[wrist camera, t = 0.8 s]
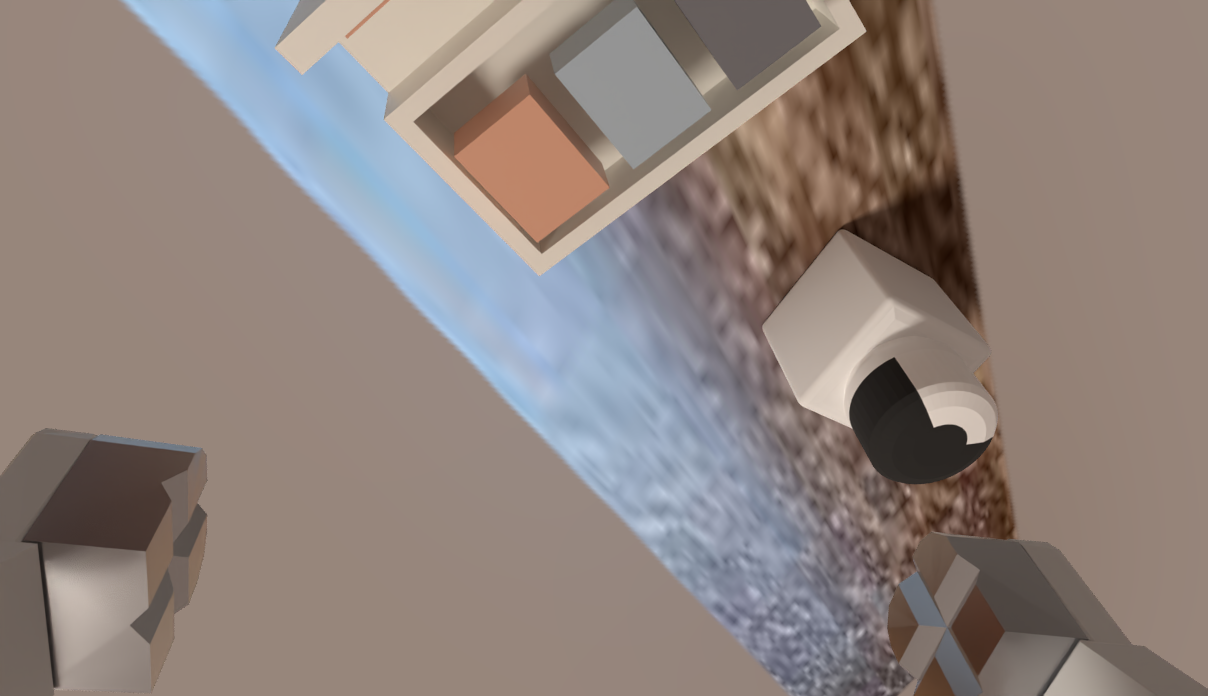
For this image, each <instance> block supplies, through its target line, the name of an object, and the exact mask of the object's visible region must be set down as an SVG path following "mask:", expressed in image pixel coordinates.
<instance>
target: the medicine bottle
mask: <svg viewBox="0 0 1208 696" xmlns="http://www.w3.org/2000/svg"><path fill="white" fill-rule="evenodd" d="M763 332H764V334H765V336H766V338H767V340H768V342H769V344H770V346H771V348H772V350H773V352H774V354H775V356H776V358H777V360H778V362H779V364H780V366H781V368H782V370H783V372H784V374H785V376H786V378H787V380H788V382H789V384H790V386H791V388H792V390H793V392H794V394H795V396H796V399H797V401H798V403H799V404H801V405H802V406H803V407H805V408H807V409H810V410H812V411H814V412H816V413H819V414H821V415H823V416H825V417H828V418H830V419H832V420H834V421H837V422H839V423H841V424H844V425H846V426H848V427H850V428H852V429H853V430H854V432H855V434H856V436H857V438H858V439H859V441H860V443H861V445H862V447H863V449H864V450H865V452H866V454H867V456H868V458H869V459H870V461H871V463H872V465H873V467H874V468H875V469H876V470H877V471H878V472H879V473H880V474H881V475H883V476H884V477H886V478H888V479H890V480H893V481H897V482H901V483H906V484H926V483H932V482H936V481H940V480H943V479H946V478H948V477H951V476H953V475H955V474H957V473H959V472H960V471H962V470H964V469H965V468H967V467H968V466H969V465H971V464H972V463H973V462H974V461H976V460H977V459H978V458H979V457H980V456H981V455H982V453H983V452H984V451H985V450H986V448H987V447H988V445H989V444H990V442H991V440H992V438H993V435H994V432H995V429H996V426H997V421H998V411H997V406H996V404H995V402H994V400H993V398H992V397H991V396H990V394H989V393H988V392H987V391H986V389H985V388H984V387H983V385H982V384H981V383H980V382H979V380H978V379H977V378H976V376H975V375H974V374H973V373H974V372H975V371H976V370H977V369H978V368H979V367H980V366H981V364H982V363H983V362H984V361H985V360H986V359H987V358H988V357H989V356H990V355H991V348H990V347H989V345H988V344H987V343H986V342H985V341H984V339H983V338H982V337H981V336H980V335H979V333H978V332H977V331H976V330H975V329H974V327H973V326H972V325H971V324H970V323H969V321H968V320H967V319H966V318H965V317H964V315H963V314H962V313H961V312H960V311H959V309H958V308H957V307H956V306H955V305H954V303H953V302H952V301H951V300H950V299H949V297H948V296H947V295H946V294H945V293H944V291H943V290H942V289H941V288H940V287H939V285H938V284H937V283H936V282H935V281H934V279H932V278H930V277H929V276H927V275H925V274H923V273H922V272H920V271H918V270H916V269H914V268H913V267H911V266H909V265H907V264H906V263H904V262H902V261H900V260H898V259H897V258H895V257H893V256H891V255H890V254H888V253H886V252H884V251H882V250H881V249H879V248H877V247H875V246H873V245H872V244H870V243H868V242H866V241H865V240H863V239H861V238H859V237H857V236H856V235H854V234H852V233H850V232H849V231H847V230H844V229H842V230H839V231H838V232H837V233H836V234H835V235H834V236H833V238H832V239H831V240H830V241H829V243H828V244H827V245H826V246H825V248H824V249H823V250H822V251H821V253H820V254H819V255H818V256H817V258H816V259H815V260H814V261H813V263H812V264H811V265H810V266H809V268H808V269H807V270H806V271H805V273H804V274H803V275H802V276H801V278H800V279H799V280H798V281H797V283H796V284H795V285H794V286H793V287H792V289H791V290H790V291H789V292H788V294H787V295H786V296H785V297H784V299H783V300H782V301H781V302H780V304H779V305H778V306H777V307H776V309H775V310H774V311H773V312H772V314H771V315H770V316H769V317H768V319H767V320H766V321H765V322H764V324H763Z"/></svg>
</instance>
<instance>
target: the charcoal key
mask: <svg viewBox="0 0 1208 696" xmlns="http://www.w3.org/2000/svg"><path fill="white" fill-rule="evenodd" d="M674 1H675V3H676V4H677V6H678V7H679V9H680V10H681V11H682V13H683V14H684V16H685V17H686V19H687V20H688V22H689V23H690V24H691V26H692V27H693V29H694V30H695V32H696V33H697V34H698V36H699V37H700V39H701V40H702V42H703V43H704V45H705V46H706V47H707V49H708V50H709V52H710V53H711V55H712V56H713V57H714V59H715V60H716V62H717V63H718V65H719V66H720V68H721V69H722V70H723V72H724V73H725V74H726V76H727V77H728V79H729V80H730V81H731V83H732V84H733V85H734V87H735V88H736V90H739V89H740V88H741V87H742V86H744V85H745V84H746V83H748V82H749V81H750V80H752V79H753V78H754V77H756V76H757V75H758V74H760V73H761V72H762V71H763V70H765V69H766V68H767V67H769V66H770V65H771V64H773V63H774V62H775V61H777V60H778V59H779V58H781V57H782V56H783V55H784V54H786V53H787V52H788V51H790V50H791V49H792V48H794V47H795V46H796V45H798V44H799V43H800V42H802V41H803V40H804V39H805V38H807V37H808V36H809V35H811V34H812V33H813V32H815V31H816V30H817V29H819V28H820V27H821V25H820V23H819V21H818V20H817V18H816V16H815V15H814V13H813V11H812V10H811V8H810V6H809V5H808V3H807V1H806V0H674Z"/></svg>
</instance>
